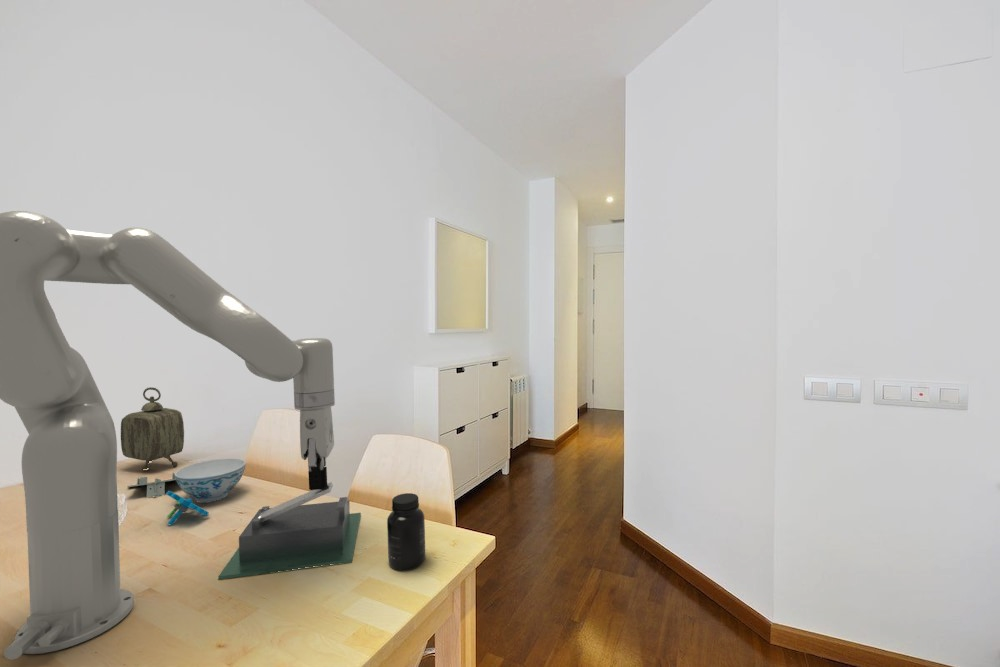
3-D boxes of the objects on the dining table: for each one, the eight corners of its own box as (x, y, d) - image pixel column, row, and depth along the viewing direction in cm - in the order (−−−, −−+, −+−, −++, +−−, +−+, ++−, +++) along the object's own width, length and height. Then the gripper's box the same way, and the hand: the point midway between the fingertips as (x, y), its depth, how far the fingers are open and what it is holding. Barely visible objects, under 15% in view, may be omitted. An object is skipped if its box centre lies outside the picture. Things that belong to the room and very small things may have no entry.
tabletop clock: (185, 465, 133) (182, 386, 133) (154, 476, 125) (152, 391, 124) (150, 461, 137) (148, 384, 137) (119, 471, 129) (116, 389, 128)
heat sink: (351, 562, 79) (350, 522, 79) (218, 579, 74) (217, 537, 74) (360, 515, 99) (360, 483, 98) (255, 526, 94) (255, 492, 93)
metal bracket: (191, 469, 114) (117, 480, 106) (190, 492, 113) (116, 505, 105) (197, 469, 126) (131, 479, 118) (196, 490, 125) (130, 501, 117)
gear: (216, 513, 96) (175, 490, 92) (194, 539, 93) (151, 517, 88) (204, 505, 104) (166, 484, 99) (184, 529, 101) (143, 508, 96)
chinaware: (204, 513, 100) (204, 481, 100) (160, 505, 105) (159, 474, 104) (259, 489, 114) (259, 461, 114) (218, 483, 119) (218, 455, 119)
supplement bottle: (409, 547, 84) (409, 487, 84) (432, 559, 80) (432, 496, 80) (380, 562, 79) (379, 499, 79) (403, 576, 75) (402, 509, 74)
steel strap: (330, 492, 86) (328, 488, 86) (256, 525, 83) (254, 520, 83) (333, 485, 89) (331, 481, 89) (262, 516, 86) (260, 512, 86)
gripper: (328, 405, 80) (332, 501, 81) (339, 391, 95) (342, 473, 95) (285, 408, 78) (289, 506, 79) (302, 393, 93) (306, 476, 94)
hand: (318, 487), depth 87 cm, fingers closed
